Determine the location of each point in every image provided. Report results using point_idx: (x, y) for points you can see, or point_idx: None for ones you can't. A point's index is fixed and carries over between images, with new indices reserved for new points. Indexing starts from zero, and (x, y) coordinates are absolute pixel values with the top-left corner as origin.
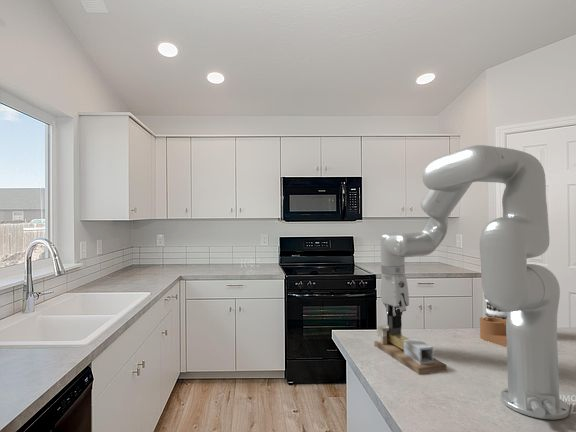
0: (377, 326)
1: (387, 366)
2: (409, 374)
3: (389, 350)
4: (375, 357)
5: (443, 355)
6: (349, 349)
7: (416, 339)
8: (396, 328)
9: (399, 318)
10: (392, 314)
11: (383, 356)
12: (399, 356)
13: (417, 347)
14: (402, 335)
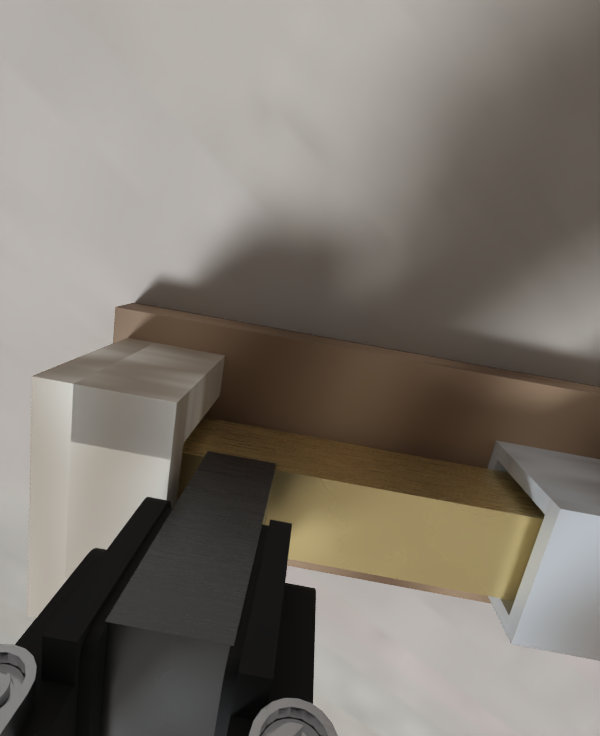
0: (33, 610)
1: (475, 676)
2: None
3: (337, 574)
4: (319, 643)
5: (577, 182)
6: None
7: (585, 528)
8: None
9: (308, 692)
10: (96, 716)
11: (331, 594)
12: (473, 597)
13: None
14: (321, 478)
